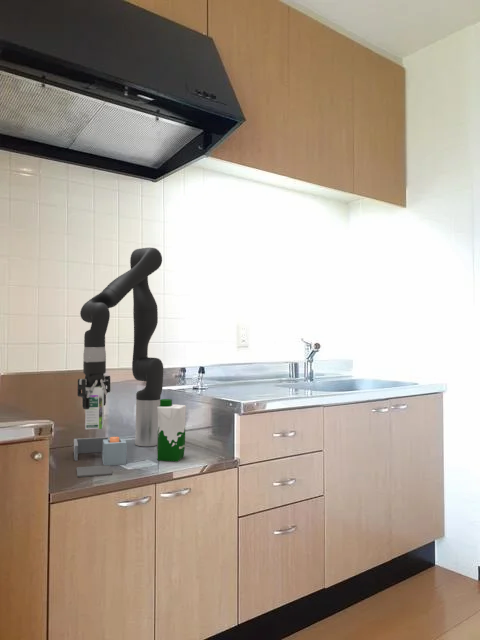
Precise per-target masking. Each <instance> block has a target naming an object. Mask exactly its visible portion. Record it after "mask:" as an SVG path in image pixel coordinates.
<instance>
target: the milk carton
mask: <svg viewBox="0 0 480 640" xmlns="http://www.w3.org/2000/svg"><path fill="white" fill-rule="evenodd" d="M186 409H187V407H186V405H185V404H178V403H177V404H173V399H169V398H160V406H158V407H157V412H158V443H157V445H156V446H157V450H156V451H157V454H156V455H157V461H161V462H175V463H177V462H179V461H180V460H182V459H183V458H184V457H185V448H186V413H187V412H186V411H187V410H186Z"/></svg>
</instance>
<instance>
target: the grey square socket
mask: <svg viewBox="0 0 480 640" xmlns="http://www.w3.org/2000/svg"><path fill="white" fill-rule="evenodd" d="M127 444H128V443H127V441H126V439H125V438H119V442H113V443H110V439H105V440H103V450H102V452H101V453H102V456H101V458H102V460H101V461H102V464H103V466H104V465H109V466H120V465H123V466H124V465H127V447H128V446H127Z"/></svg>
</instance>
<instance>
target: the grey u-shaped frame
mask: <svg viewBox="0 0 480 640" xmlns="http://www.w3.org/2000/svg"><path fill="white" fill-rule="evenodd" d="M110 437H111V436H106V437H105V436H104V437H102V436H101V437H85V438H84V437H83V438H73V460H74V461H76V462H77V461H79V459H78V457H79V454H90V453H91V454H94V453H102V450H103V440H105V439H110Z"/></svg>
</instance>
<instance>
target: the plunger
mask: <svg viewBox="0 0 480 640" xmlns="http://www.w3.org/2000/svg"><path fill="white" fill-rule="evenodd" d="M109 437H110V443H113V442H119V439H120V437H119V436H109Z"/></svg>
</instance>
